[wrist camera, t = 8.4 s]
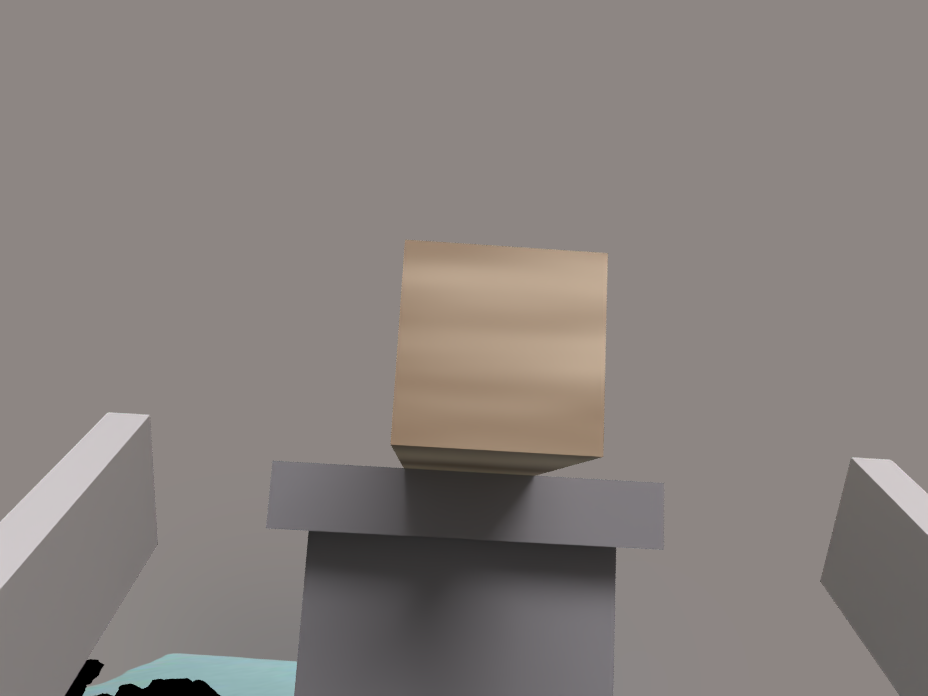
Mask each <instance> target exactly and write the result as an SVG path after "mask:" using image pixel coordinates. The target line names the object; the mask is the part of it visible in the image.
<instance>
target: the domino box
mask: <svg viewBox="0 0 928 696" xmlns="http://www.w3.org/2000/svg"><path fill="white" fill-rule="evenodd" d="M607 258H608V253H597V252H581V251H566V250H552V249H536V248H521V247H507V246H492V245H476V244H461V243H446V242H431V241H416V240H405V249H404V263H403V277H402V291H401V306H400V320H399V334H398V348H397V362H396V376H395V390H394V404H393V418H392V432H391V433H392V434H391V446H392V448H393V450H394V451H395V453H396V455H397V457H398V459H399V460H400V462H401V464H402V466H403V467H404V468H407V469H424V470H442V471H460V472H477V473H495V474H512V475H530V476H535V475H539V474H542V473H546V472H550V471H554V470H557V469H561V468H564V467H568V466H572V465H575V464H579V463H582V462H586V461H590V460H594V459H597V458H601V457H603V442H604V397H605V395H604V394H605V352H606V351H605V350H606V305H607V263H608V259H607Z"/></svg>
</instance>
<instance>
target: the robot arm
mask: <svg viewBox="0 0 928 696" xmlns="http://www.w3.org/2000/svg"><path fill="white" fill-rule="evenodd" d="M157 545H158V540H157V523H156V507H155V490H154V475H153V457H152V440H151V423H150V415H144V414H128V413H111V412H108V413H107V414H106V415H105V416H104V417H103V418H102V419H101V420H100V421H99V422H98V423H97V424H96V425H95V426H94V427H93V428H92V429H91V430H90V431H89V432H88V433H87V434H86V435H85V436H84V437H83V438H82V439H81V440H80V441H79V442H78V443H77V445H75V446H74V448H72V450H70V451H69V452H68V453H67V454H66V455H65V456H64V457H63V459H62V460H61V461H60V462H59V463H58V464H57V465H56V466H55V467H54V468H53V469H52V470H51V471H50V472H49V473H48V474H47V475H46V476H45V477H44V478H43V479H42V480H41V481H40V482H39V483H38V484H37V485H36V486H35V487H34V488H33V489H32V490H31V491H30V492H29V493H28V494H27V495H26V496H25V497H24V498H23V499H22V500H21V501H20V502H19V503H18V504H17V505H16V506H15V507H14V508H13V509H12V510H11V511H10V512H9V513H8V514H7V515H6V517H4V519H3V520H2V521H1V522H0V696H65V694H66V693H67V691H68V689H69V688H70V686H71V685H72V683H73V681H74V680H75V678H76V676H77V675H78V673H79V672H80V670H81V668H82V667H83V665H84V663H85V662H86V660H87V658H88V657H89V655H90V654H91V652H92V650H93V649H94V647H95V645H96V644H97V642H98V641H99V639H100V637H101V636H102V634H103V632H104V631H105V629H106V628H107V626H108V624H109V623H110V621H111V619H112V618H113V616H114V615H115V613H116V611H117V610H118V608H119V606H120V605H121V603H122V602H123V600H124V598H125V597H126V595H127V593H128V592H129V590H130V589H131V587H132V585H133V583H134V582H135V580H136V578H137V577H138V576H139V574H140V572H141V570H142V569H143V567H144V566H145V564H146V563H147V561H148V559H149V558H150V556H151V554H152V553H153V551H154V550H155V548H156V546H157ZM820 582H821V583H822V584H823V586H824V587H825V589H826V590H827V592H828V593H829V595H830V596H831V597H832V599H833V600H834V602H835V603H836V604H837V606H838V608H839V609H840V610H841V612H842V613H843V615H844V616H845V618H846V619H847V620H848V622H849V623H850V625H851V626H852V628H853V629H854V631H855V632H856V633H857V635H858V636H859V638H860V639H861V641H862V642H863V643H864V645H865V646H866V648H867V649H868V651H869V652H870V653H871V655H872V657H873V658H874V659H875V661H876V662H877V664H878V665H879V667H880V668H881V669H882V671H883V672H884V674H885V675H886V676H887V678H888V679H889V681H890V682H891V684H892V685H893V687H894V688H895V690H896V691H897V693H898V694H899V695H900V696H928V494H927V493H926V492H925V491H924V490H923V489H922V488H921V487H920V486H919V485H918V484H917V483H916V482H914V481H913V480H912V479H911V478H910V477H909V476H908V475H907V474H906V473H905V472H904V471H903V470H902V469H900V468H899V467H898V466H897V465H896V464H895V463H894V462H892V460H886V459H870V458H853V457H851V460H850V464H849V468H848V473H847V476H846V481H845V484H844V488H843V493H842V497H841V500H840V504H839V509H838V513H837V516H836V520H835V524H834V528H833V532H832V536H831V540H830V544H829V549H828V553H827V556H826V560H825V565H824V568H823V572H822V576H821V580H820Z"/></svg>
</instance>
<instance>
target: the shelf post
mask: <svg viewBox="0 0 928 696" xmlns="http://www.w3.org/2000/svg"><path fill="white" fill-rule="evenodd" d="M266 528H271V529H290V530H308V531H309V535H308V545H307V557H306V568H305V579H304V592H303V602H302V614H301V625H300V636H299V648H298V659H297V671H296V682H295V693H294V696H613V678H614V676H613V675H614V673H613V672H614V625H615V623H614V622H615V621H614V620H615V573H616V572H615V571H616V547H624V548H641V549H659V550H663V548H664V483H653V482H635V481H618V480H600V479H583V478H564V477H548V476H530V475H512V474H495V473H477V472H460V471H442V470H424V469H407V468H390V467H389V468H388V467H371V466H353V465H337V464H319V463H301V462H283V461H273V463H272V473H271V484H270V494H269V504H268V515H267V525H266Z"/></svg>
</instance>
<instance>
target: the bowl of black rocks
mask: <svg viewBox="0 0 928 696" xmlns="http://www.w3.org/2000/svg"><path fill="white" fill-rule="evenodd" d="M103 666H104V664H102V663H100V662H99V661H98V660H92V659H90V660H86V662H85V663H84V665H83V667H82V668H81V670H80V672H79V673H78V675H77V676H76V678H75V680H74V681H73V683H72V685H71V686H70V688H69V689H68V691H67V693H66V694H65V696H82V695H83V694H84V692H85V688H86V687H87V686H86V685H88V684H90V683H91V682H92V680H93V679H95V678H96V677H97V676H98V675H99V673H100V671H101V669H102V667H103ZM97 696H112V695H109V694H103V693H102V694H100V695H97ZM115 696H220V695H219V694H218V693H217V692H216V691H215V690H213V689H212V688H211V687H210V686H209V685H208V684H207V683H206V682H204V681H201V680H195V681H193V682H192V681H191V680H190V679H188V678H185V679H165V680H163V679H156V680H152V682H151V683H150V685H149V686H148V687H146V688H144V689H141V688H140V687H138V686H136V685H134V684H125V685H121V686H120V687H119V690H118V692H117V693H116V695H115Z"/></svg>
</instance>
